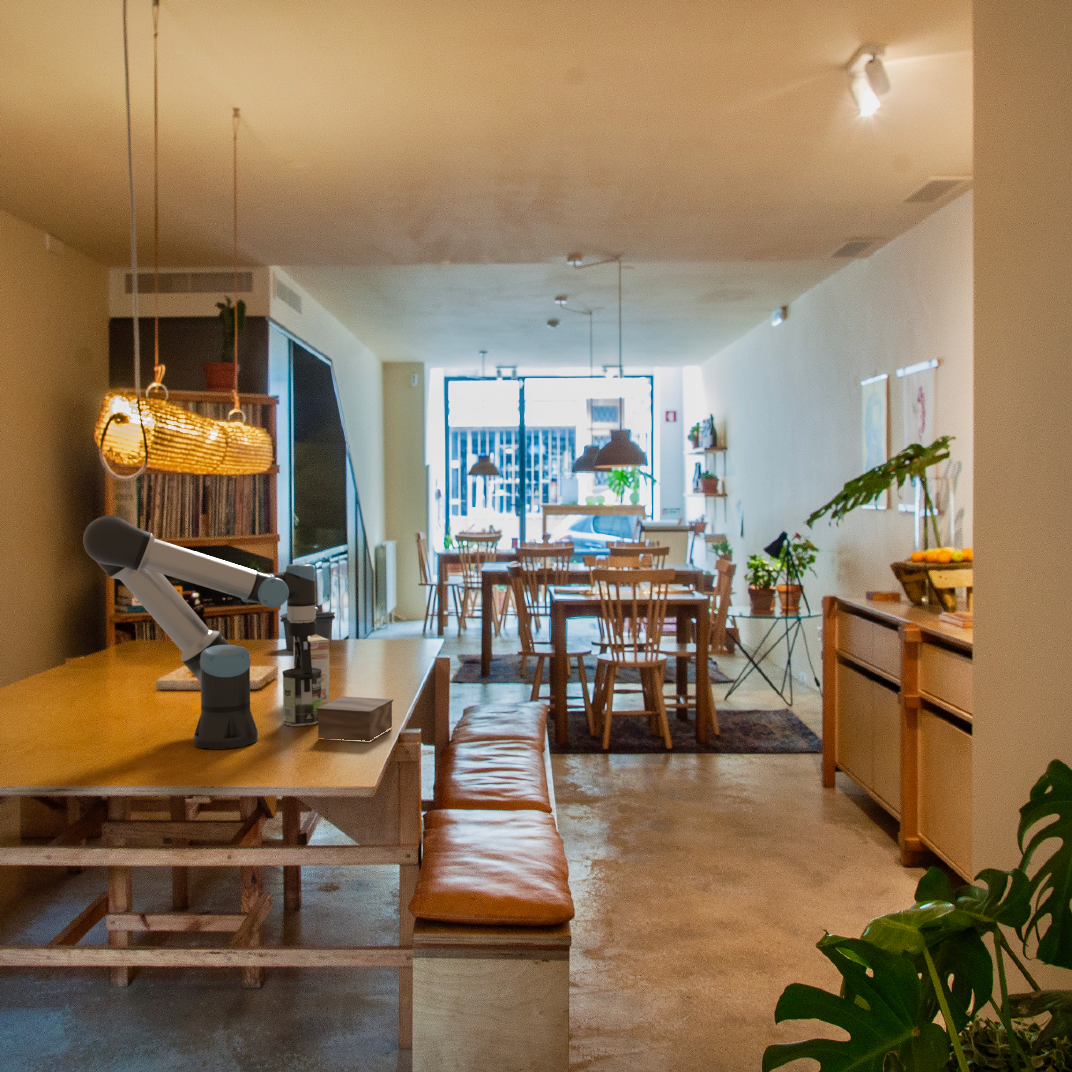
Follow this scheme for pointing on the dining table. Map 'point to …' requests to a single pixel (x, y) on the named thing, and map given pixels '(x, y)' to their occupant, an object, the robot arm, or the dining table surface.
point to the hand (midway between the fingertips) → (303, 698)
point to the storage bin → (322, 627)
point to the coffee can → (292, 698)
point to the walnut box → (354, 718)
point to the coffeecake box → (320, 663)
